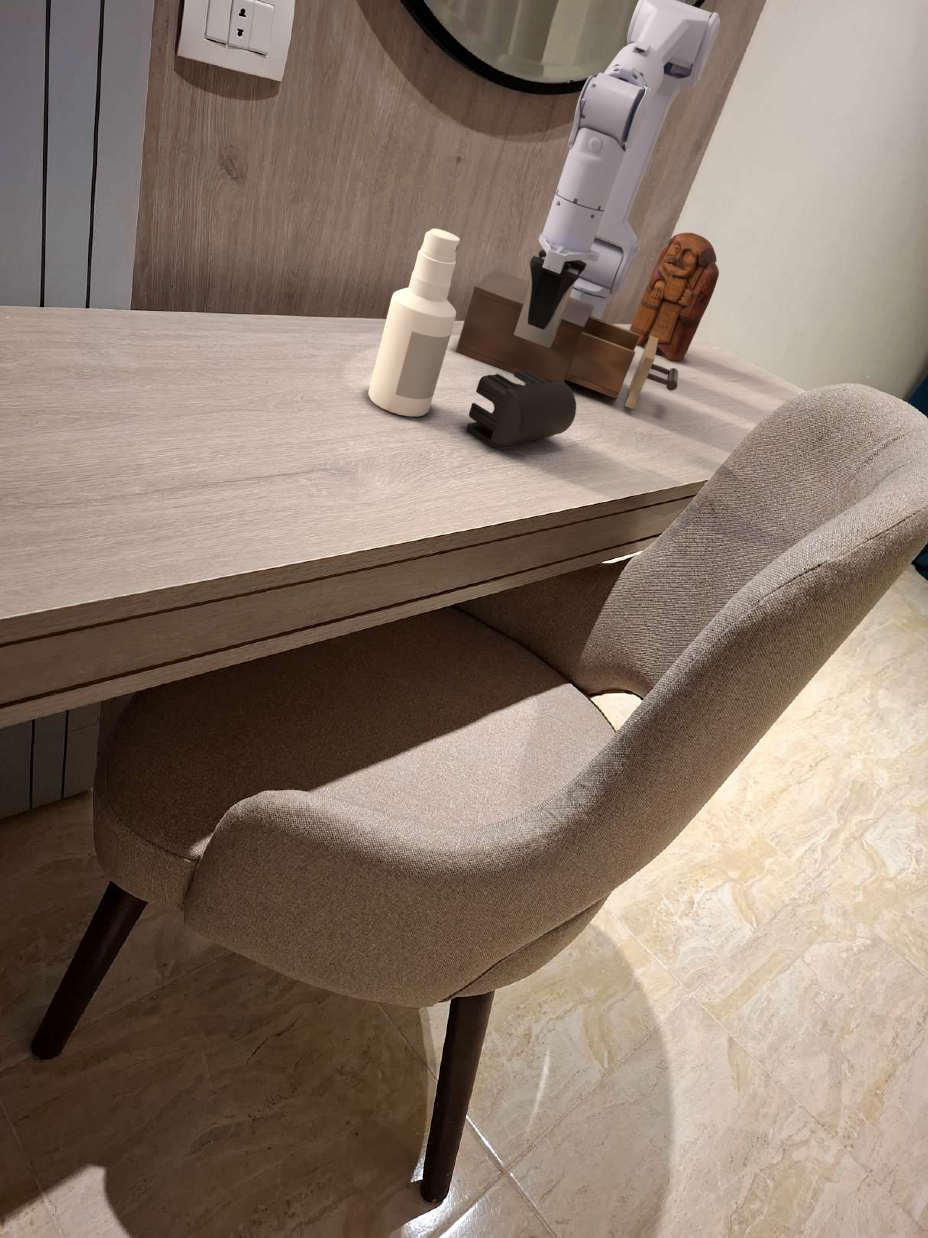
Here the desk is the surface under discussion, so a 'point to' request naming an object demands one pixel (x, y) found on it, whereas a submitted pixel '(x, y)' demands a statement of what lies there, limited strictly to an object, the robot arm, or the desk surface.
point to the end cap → (521, 409)
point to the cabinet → (497, 321)
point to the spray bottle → (417, 331)
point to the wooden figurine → (677, 295)
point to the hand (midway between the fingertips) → (539, 321)
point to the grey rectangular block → (551, 329)
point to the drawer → (614, 361)
